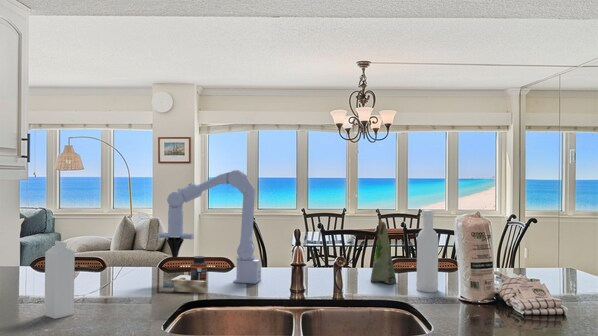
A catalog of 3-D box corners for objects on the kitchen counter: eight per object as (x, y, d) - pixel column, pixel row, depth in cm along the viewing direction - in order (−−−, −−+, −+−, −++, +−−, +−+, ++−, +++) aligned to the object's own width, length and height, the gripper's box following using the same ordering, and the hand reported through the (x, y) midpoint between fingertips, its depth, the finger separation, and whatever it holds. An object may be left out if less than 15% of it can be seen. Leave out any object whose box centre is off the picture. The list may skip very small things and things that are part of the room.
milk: (63, 311, 159) (64, 239, 159) (74, 314, 156) (75, 241, 156) (43, 315, 154) (45, 241, 155) (54, 319, 151) (55, 243, 151)
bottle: (439, 289, 197) (440, 210, 197) (435, 293, 190) (437, 211, 190) (418, 286, 200) (419, 209, 200) (414, 291, 193) (415, 210, 193)
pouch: (384, 286, 200) (385, 221, 200) (361, 281, 209) (362, 219, 209) (402, 282, 207) (403, 220, 207) (379, 277, 216) (380, 217, 216)
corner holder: (209, 290, 189) (210, 279, 189) (205, 293, 185) (205, 281, 185) (179, 288, 191) (179, 277, 191) (173, 291, 187) (173, 280, 187)
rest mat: (201, 277, 211) (201, 276, 211) (192, 281, 203) (192, 280, 203) (180, 275, 213) (180, 275, 213) (171, 280, 204) (171, 279, 204)
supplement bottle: (203, 289, 191) (203, 258, 191) (187, 288, 192) (188, 257, 192) (209, 285, 197) (209, 255, 197) (194, 284, 198) (194, 255, 198)
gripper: (153, 222, 201) (153, 257, 201) (189, 224, 199) (188, 259, 199) (161, 221, 208) (161, 254, 208) (196, 222, 206) (195, 256, 206)
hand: (175, 257), depth 204 cm, fingers closed
